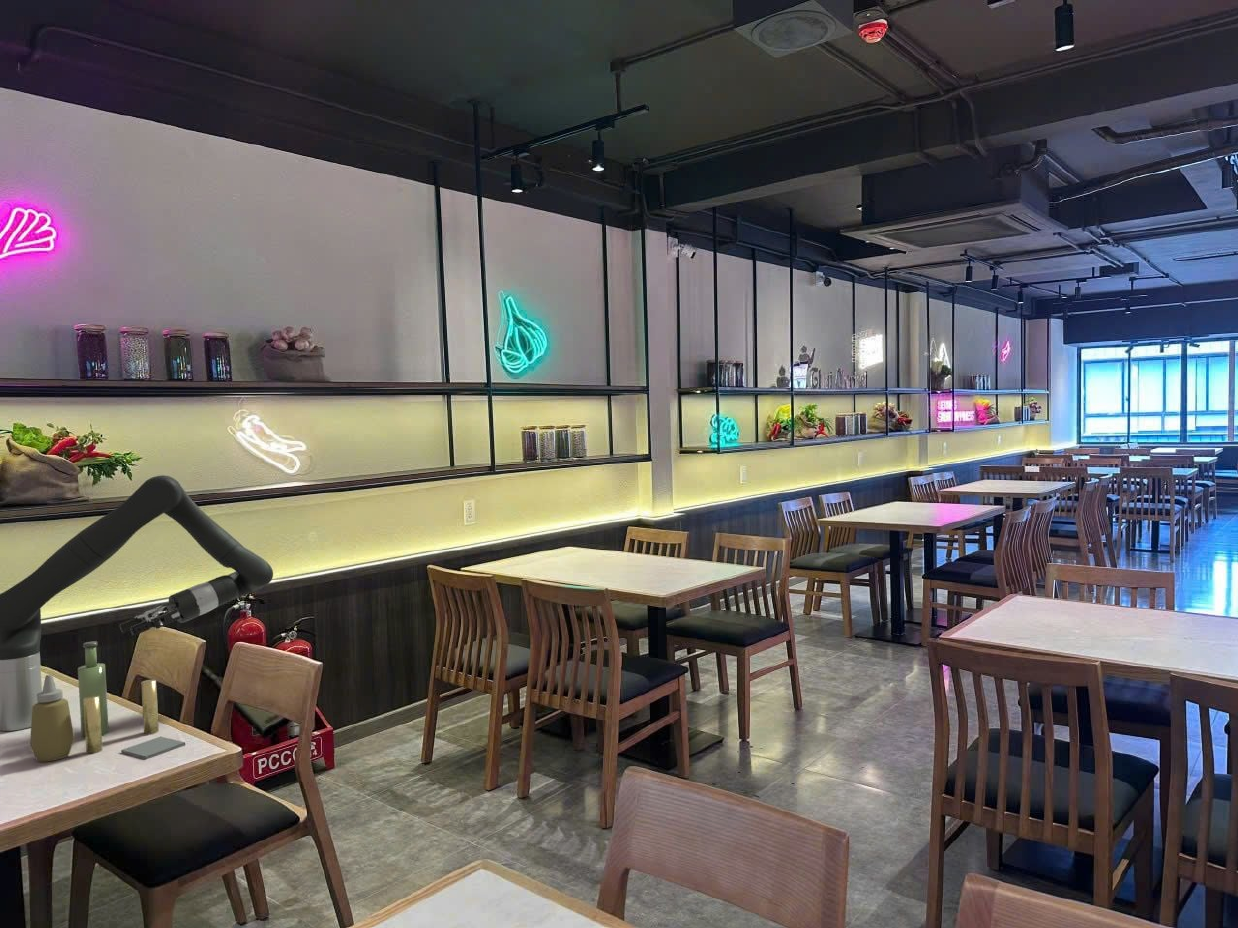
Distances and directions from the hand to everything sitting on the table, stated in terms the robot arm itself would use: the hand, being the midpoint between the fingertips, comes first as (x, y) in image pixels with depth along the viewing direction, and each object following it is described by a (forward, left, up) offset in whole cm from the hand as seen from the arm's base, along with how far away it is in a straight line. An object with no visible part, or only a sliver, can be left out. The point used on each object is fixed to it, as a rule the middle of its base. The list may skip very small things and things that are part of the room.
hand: (126, 630), depth 200 cm
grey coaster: (+20, -7, -23) cm, 32 cm away
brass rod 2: (+9, -1, -23) cm, 25 cm away
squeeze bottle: (+4, -20, -23) cm, 31 cm away
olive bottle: (-2, -7, -23) cm, 24 cm away
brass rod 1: (+9, -14, -23) cm, 28 cm away
